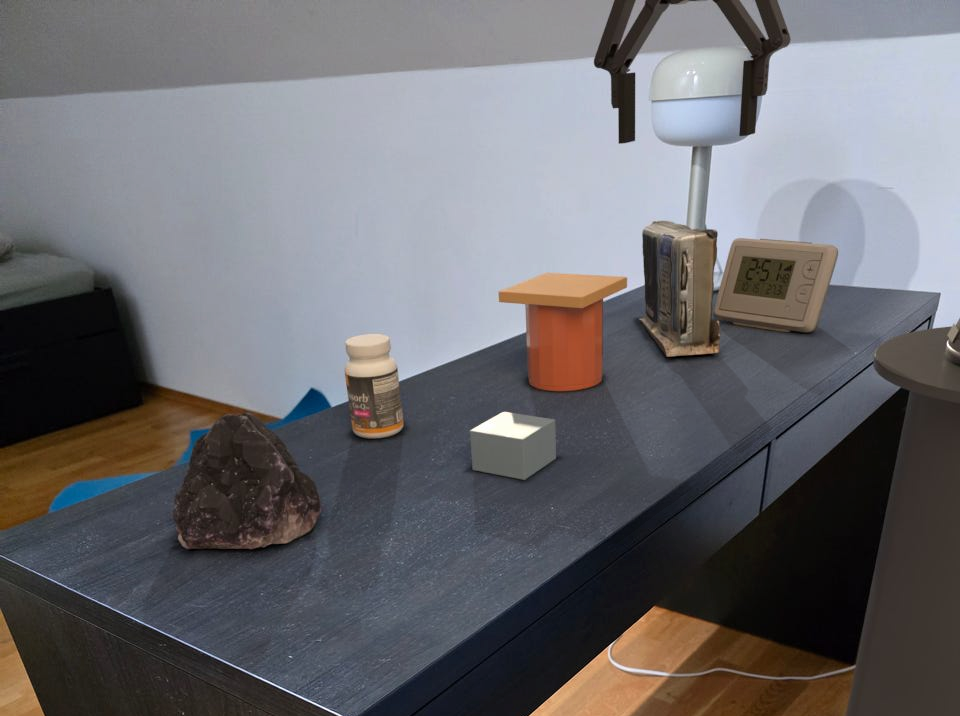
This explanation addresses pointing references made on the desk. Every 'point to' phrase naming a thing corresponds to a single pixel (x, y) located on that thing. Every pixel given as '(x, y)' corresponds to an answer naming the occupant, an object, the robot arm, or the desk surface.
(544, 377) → the cup
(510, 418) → the stand
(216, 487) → the crystal cluster
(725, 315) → the digital clock
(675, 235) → the radio
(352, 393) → the pill bottle
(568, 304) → the mat
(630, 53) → the robot arm
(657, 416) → the desk surface
